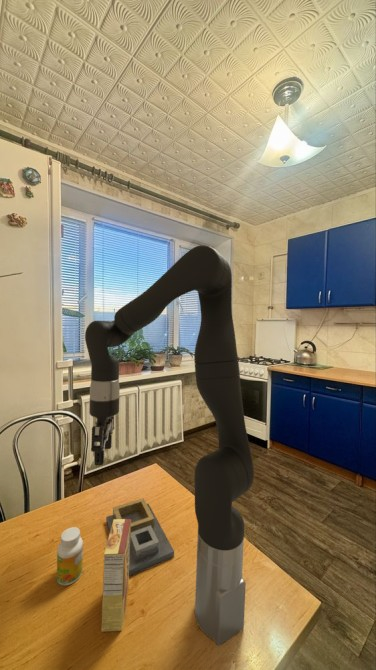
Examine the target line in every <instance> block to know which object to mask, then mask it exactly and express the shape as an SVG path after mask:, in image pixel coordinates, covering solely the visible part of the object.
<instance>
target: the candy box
mask: <svg viewBox="0 0 376 670" xmlns="http://www.w3.org/2000/svg"><path fill="white" fill-rule="evenodd" d="M108 533H109V532H108ZM130 535H131V519H114V520H113V522H112V526H111V530H110V533H109V534H108V536H107V537H108V538H107V540H106V541H107V542H106V545H105V549H104V552H103V580H102V582H103V583H102V605H101V606H102V607H101V633H104V632H105V633H107V632H119V631H122V630H123V626H124V625H123V624H124V621H125V620H124V618H125V612H126V605H127V600H128V591H129V581H130V579H129V578H130V577H129V558H130Z"/></svg>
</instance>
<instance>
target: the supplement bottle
mask: <svg viewBox="0 0 376 670" xmlns="http://www.w3.org/2000/svg"><path fill="white" fill-rule="evenodd" d="M56 550H57V552H56V580H57V583H58V584H59V585H61V586H69V585H71V584H74V583H75V582H76V581H78V580H79V579H80V577H81V575H82V573H83V563H84V562H83V559H84V558H83V556H84V555H83V553H84V541H83V538H82V537H81V529H79V528H78V527H76V526H74V527H73V526H72V527H68V528H66V529H65V530H64V531H63V532H62V533H61V536H60V542H59V543H58V546H57V549H56Z"/></svg>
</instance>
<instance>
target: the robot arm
mask: <svg viewBox="0 0 376 670" xmlns="http://www.w3.org/2000/svg"><path fill="white" fill-rule="evenodd" d="M232 274H233V273H232V267H231V265H230V264H229V261H228V260H227V259H226V258H225V257H224V256H223V255H222V253H220V252H219V251H218V250H217V249H215V248H213V247H212V246H209V245H205V244H199V245H197V246H194V247H192V248H191V249H189V250H187V252H185V253H184V254H183V255H182V256H181V257H180V258H178V260H177V261H176V262H175V263H174V264H173V265H172V266H170V268H169V269H168V270H167V271H166V272H164V273H163V274H162V276H160V277H159V278H158V279H157V280H156V281H155V282H154V283H153V284H152V285H151V286H150V287H148V288H147V289H146V290H145V291H143V293H141V294H139V295H138V296H137V297H135V298H134V299H132V300H131V301H129V302H128V303H126V304H124V305H123V306H122V307H121V308H119V309H118V310H117V311H116V312H115V314H114V316H113V317H114V318H113V319H114V320H94V321H92V322H90V323H89V324H88V326H87V327H86V329H85V333H84V340H85V345H86V349H87V352H88V357H89V359H90V360H89V361H90V364H91V368H90V369H91V371H90V373H91V374H90V385H89V386H90V387H89V412H88V413H89V415H90V417H92V418H96V421H95V423H94V425H93V426H92V427H91V442H90V443H91V445H90V446H91V448H90V451H91V453H92V452H94V456H93V457H94V460H93V461H94V465H95V466H103V465H104V463H105V450H111V448H112V445H113V444H112V440H113V439H112V437H113V433H114V430H115V416H116V415H117V414H119V412H120V389H121V388H120V361H119V359H118V358H117V357H115V356H111V355H110V351H109V348H116V347H119V346H121V345H123V344H124V343H126V342H127V341H129V339H130V338H132V337H133V335H134V334H135V333H136V332H138V331H140V330H142V329H143V328H145V327H147V326H148V325H150V324H152V323H153V322H154V321H156V319H158V318H159V316H160V315H161V314H162V313H163V312H164V310H165V309H166V308H167V306H169V305H170V304H171V303H172V302H173V301H175V300H176V299H178V298H179V297H182V296H183V295H185V294H188V293H190V292H193V291H197V294H198V299H199V306H200V317H201V318H200V326H199V331H198V335H197V338H196V342H195V347H194V354H193V355H194V356H193V357H194V358H193V359H194V371H195V382H196V387H197V391H198V393H199V395H200V397H201V398H202V400H203V402H204V404H205V405H206V406H207V408H208V409H209V411H210V413H211V414H212V416H213V418H214V421H215V423H216V424H215V425H216V429H217V439H218V449H217V450H214V451H212V452H210V453H207V454H206V455H204V456H202V457H200V458H199V459H198V461H197V462H196V465H195V470H194V480H193V481H194V485H193V486H194V513H195V516H196V521H197V542H196V544H197V546H196V569H195V570H196V571H195V574H196V575H195V598H194V599H195V601H194V614H195V620H196V623H197V625H198V627H199V629H200V630H201V631H202V632H203V633H204V634H205V635H206V636H207V637H209V638H211V639H212V640H214V641H215V643H216V645H217V646H221V645H222V644H224V643H225V642H226V641H228V640H229V639H231V638H232V637H235V635H237V634H238V633H240V632H241V631H243V630H244V627H245V610H246V609H245V608H246V607H245V606H246V605H245V604H246V585H247V584H246V580H245V578H244V577H243V568H244V567H243V566H244V563H243V562H244V548H245V547H244V545H245V544H244V542H245V521H244V519H243V516H242V514H241V513H240V512H239V511H238V509H236V508H234V507H233V502H235V501H236V500H237V499H239V498H241V496H243V495H244V494H246V493H247V492H248V491H249V490H250V489H251V487H252V486H253V485H254V484H253V483H254V478H255V472H254V471H255V470H254V462H253V457H252V452H251V448H250V447H251V446H250V442H249V437H248V432H247V427H246V421H245V414H244V413H245V412H244V406H243V405H244V404H243V398H242V397H243V396H242V389H241V387H242V386H241V374H240V373H241V372H240V366H239V365H240V363H239V355H238V349H237V342H236V340H237V339H236V333H235V332H236V331H235V326H234V319H233V308H232V307H233V306H232V301H233V300H232V297H233V295H232V293H233V290H232V287H233V284H232V283H233V276H232ZM98 444H99V445H98Z"/></svg>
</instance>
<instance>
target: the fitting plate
mask: <svg viewBox="0 0 376 670" xmlns="http://www.w3.org/2000/svg"><path fill="white" fill-rule="evenodd" d="M105 518H106V519H105V522H106V523H105V524H106V526H107V530H108V533H110V530H111V526H112V522H113V520H114V519H131V535H130V558H129V578H130V577H132V576H135V575H136V574H139V573H141V572H143V571H146V570H148V569H150V568H153V567H155V566H157V565H160V564H162V563H164V562H167V561H168V560H170V559H173V558H174V557H175V549H174V548H173V546H172V544H171V542H170V541H169V539H168V537H167V535H166V533H165V532H164V529H163V527H162V526H161V524H160V522H159V521H158V519H157V517H156V515H155V513H154V511H153V509H152V507H151V506H150V503H147V502H146V500H145V498H140V499H139V498H138V499H137V500H134V501H130V502H126V503H122V504H119V505H117V506H114V507H112V514H110V515H107V516H106V517H105Z"/></svg>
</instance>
